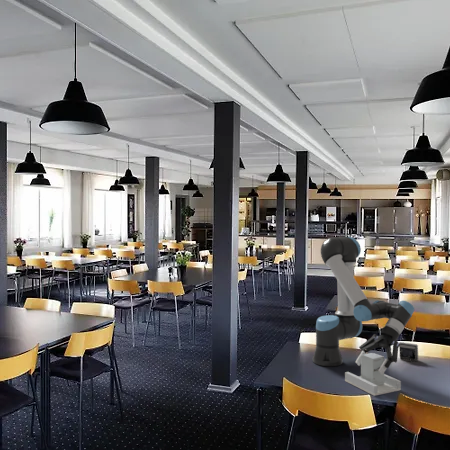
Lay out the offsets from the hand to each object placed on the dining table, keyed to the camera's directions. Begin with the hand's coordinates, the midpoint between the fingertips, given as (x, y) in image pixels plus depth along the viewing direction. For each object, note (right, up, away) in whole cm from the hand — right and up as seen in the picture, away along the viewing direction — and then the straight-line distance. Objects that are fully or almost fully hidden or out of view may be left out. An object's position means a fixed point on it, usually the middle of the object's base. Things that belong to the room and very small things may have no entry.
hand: (368, 368), depth 204 cm
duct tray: (+2, -8, +1) cm, 8 cm away
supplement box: (+2, -7, +1) cm, 8 cm away
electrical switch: (+33, -8, +37) cm, 50 cm away
